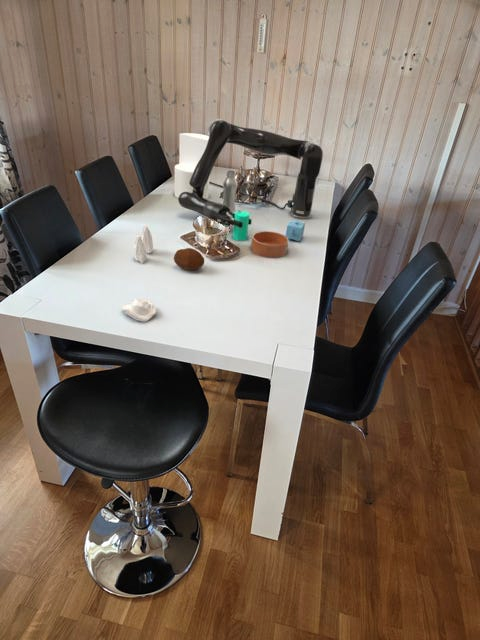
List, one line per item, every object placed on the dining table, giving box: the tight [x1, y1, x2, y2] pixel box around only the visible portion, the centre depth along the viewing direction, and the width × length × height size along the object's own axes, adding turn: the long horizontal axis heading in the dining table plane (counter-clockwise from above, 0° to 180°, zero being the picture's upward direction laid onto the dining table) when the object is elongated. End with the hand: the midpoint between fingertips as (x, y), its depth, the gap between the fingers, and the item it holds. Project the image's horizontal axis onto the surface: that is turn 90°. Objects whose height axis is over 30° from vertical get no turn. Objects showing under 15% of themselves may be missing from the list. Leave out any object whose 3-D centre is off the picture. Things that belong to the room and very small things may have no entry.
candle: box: [232, 209, 250, 242], centre depth 177 cm, size 6×6×12 cm
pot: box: [250, 230, 290, 259], centre depth 172 cm, size 14×14×5 cm
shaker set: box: [133, 224, 154, 264], centre depth 156 cm, size 12×4×11 cm, turn 168°
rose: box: [121, 298, 158, 323], centre depth 126 cm, size 10×4×10 cm
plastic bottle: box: [222, 170, 238, 212], centre depth 196 cm, size 6×7×20 cm
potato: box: [173, 247, 205, 271], centre depth 152 cm, size 8×11×8 cm
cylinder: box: [174, 132, 211, 199], centre depth 214 cm, size 17×17×28 cm
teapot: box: [285, 219, 306, 243], centre depth 182 cm, size 12×6×8 cm, turn 161°
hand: (246, 223), depth 176 cm, fingers closed on candle, 5 cm apart
